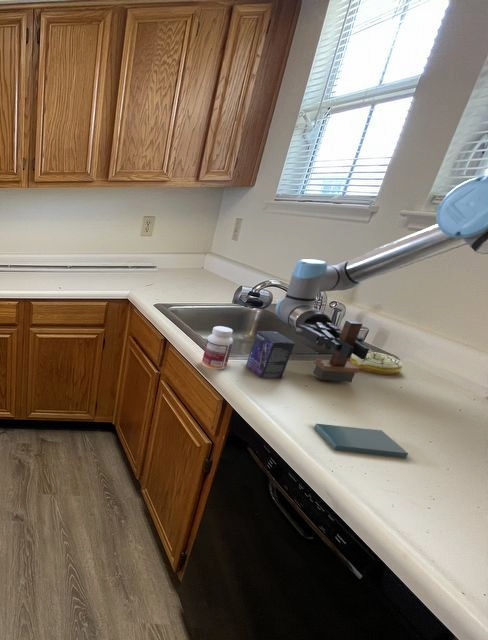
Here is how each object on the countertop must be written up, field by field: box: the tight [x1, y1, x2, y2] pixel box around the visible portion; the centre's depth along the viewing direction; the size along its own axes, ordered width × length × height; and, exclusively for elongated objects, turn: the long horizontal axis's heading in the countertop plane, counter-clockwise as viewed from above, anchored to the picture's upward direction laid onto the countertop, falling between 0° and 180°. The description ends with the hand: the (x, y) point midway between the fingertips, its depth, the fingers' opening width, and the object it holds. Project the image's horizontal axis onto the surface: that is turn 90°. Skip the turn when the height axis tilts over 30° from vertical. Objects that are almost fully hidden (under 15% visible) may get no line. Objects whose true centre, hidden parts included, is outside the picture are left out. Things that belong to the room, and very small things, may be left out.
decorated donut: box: [349, 351, 403, 376], centre depth 115 cm, size 10×11×4 cm
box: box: [245, 330, 296, 379], centre depth 110 cm, size 8×6×11 cm
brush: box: [312, 319, 363, 383], centre depth 104 cm, size 8×5×15 cm, turn 78°
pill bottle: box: [201, 325, 234, 370], centre depth 114 cm, size 6×6×11 cm
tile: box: [313, 423, 409, 459], centre depth 83 cm, size 12×8×2 cm, turn 78°
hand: (357, 353), depth 98 cm, fingers closed on brush, 2 cm apart
